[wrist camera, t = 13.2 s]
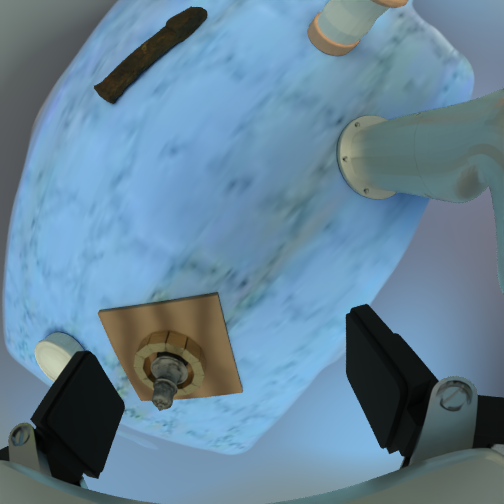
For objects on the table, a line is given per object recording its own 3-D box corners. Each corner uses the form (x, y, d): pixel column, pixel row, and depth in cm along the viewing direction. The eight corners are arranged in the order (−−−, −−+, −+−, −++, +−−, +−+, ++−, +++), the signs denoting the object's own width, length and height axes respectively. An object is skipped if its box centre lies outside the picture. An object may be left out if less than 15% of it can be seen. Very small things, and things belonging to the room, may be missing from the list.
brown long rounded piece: (114, 108, 30) (101, 101, 26) (101, 92, 29) (87, 84, 25) (218, 27, 28) (217, 12, 24) (201, 14, 27) (199, -2, 23)
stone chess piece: (165, 337, 39) (148, 388, 28) (196, 355, 41) (190, 409, 29) (149, 359, 40) (132, 410, 29) (179, 376, 41) (170, 428, 30)
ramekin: (49, 360, 40) (38, 374, 35) (44, 318, 38) (30, 331, 33) (93, 381, 42) (84, 398, 37) (92, 340, 40) (81, 357, 35)
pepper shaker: (344, 21, 28) (404, -40, 10) (357, 57, 31) (431, 4, 12) (302, 19, 28) (347, -56, 10) (314, 56, 30) (375, -13, 12)
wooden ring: (194, 326, 39) (192, 339, 36) (212, 378, 42) (211, 392, 39) (130, 334, 39) (123, 346, 35) (153, 383, 42) (149, 397, 38)
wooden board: (217, 292, 39) (217, 295, 38) (242, 388, 45) (242, 392, 44) (99, 310, 38) (97, 312, 37) (142, 397, 44) (141, 400, 43)
